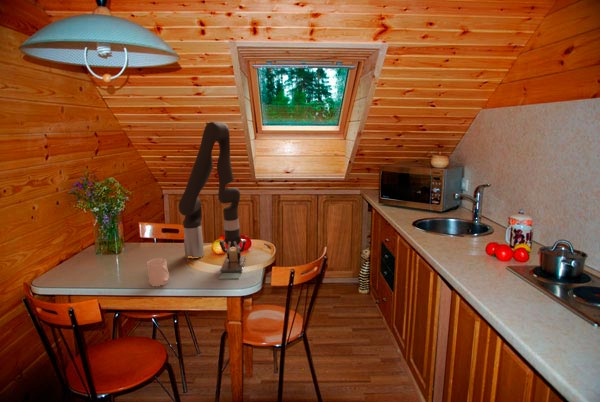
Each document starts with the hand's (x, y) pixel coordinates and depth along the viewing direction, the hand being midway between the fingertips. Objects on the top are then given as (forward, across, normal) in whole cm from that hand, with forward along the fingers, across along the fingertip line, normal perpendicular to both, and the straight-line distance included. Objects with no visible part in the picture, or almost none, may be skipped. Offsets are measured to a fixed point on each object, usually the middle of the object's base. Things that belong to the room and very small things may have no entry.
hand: (234, 259), depth 215 cm
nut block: (+3, 0, 0) cm, 3 cm away
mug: (+3, -31, -20) cm, 37 cm away
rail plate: (+3, 0, -3) cm, 4 cm away
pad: (+3, 0, -14) cm, 15 cm away
